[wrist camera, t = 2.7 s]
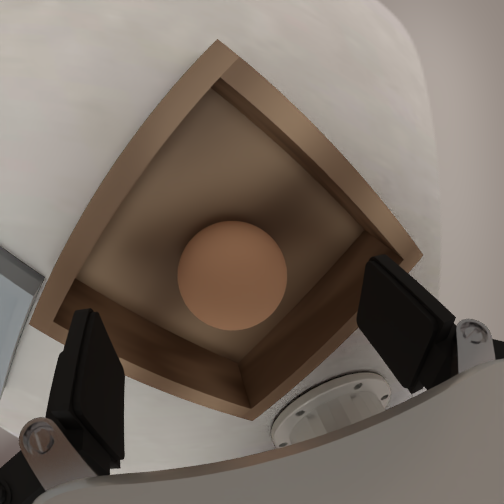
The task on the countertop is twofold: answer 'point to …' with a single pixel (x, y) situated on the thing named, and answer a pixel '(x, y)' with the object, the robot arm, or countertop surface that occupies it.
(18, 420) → the countertop surface
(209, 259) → the ball
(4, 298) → the tray
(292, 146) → the bin
